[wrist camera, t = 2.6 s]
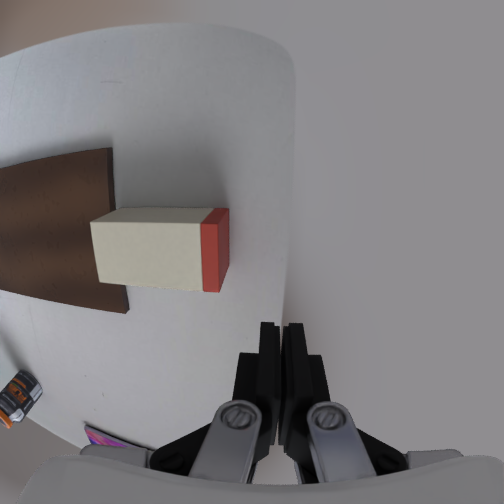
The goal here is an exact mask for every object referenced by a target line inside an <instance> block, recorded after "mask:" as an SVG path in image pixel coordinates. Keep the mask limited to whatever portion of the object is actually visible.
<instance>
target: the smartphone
mask: <svg viewBox="0 0 504 504" xmlns="http://www.w3.org/2000/svg"><path fill="white" fill-rule="evenodd" d="M84 430H85V432H86V434H87V436H88V438H89V440H90V442H91V444H103V445H112V446H122V447H135V448H140V447H137V446H134V445H132V444H129V443H126V442H124V441H121V440H118V439H116V438H113V437H111V436H109V435H107V434H105V433H102V432H100V431H98V430H95V429H93V428H91V427H89V426H85V427H84ZM148 451H149V450H148Z"/></svg>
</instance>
